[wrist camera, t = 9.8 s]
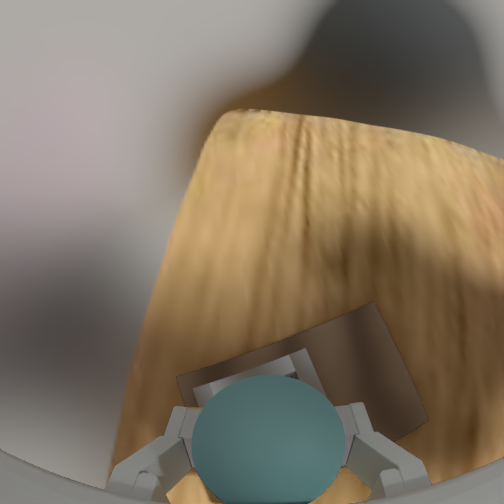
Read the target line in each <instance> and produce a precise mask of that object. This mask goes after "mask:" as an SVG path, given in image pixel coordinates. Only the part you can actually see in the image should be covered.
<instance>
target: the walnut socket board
mask: <svg viewBox="0 0 504 504" xmlns="http://www.w3.org/2000/svg"><path fill="white" fill-rule="evenodd" d="M259 375H281V376H286V377H291V378H294V379H297V380H300V381H302V382H304V383H307V384H309V385H310V386H312V387H314V388H315V389H317V390H318V391H319V392H321V393H322V394H323V395H324V396H325V397H326V398H327V399H328V400H329V401H330V402H331V404H332V405H341V404H350V403H357V402H363V403H364V406H365V408H366V411H367V414H368V417H369V420H370V422H371V425H372V428H373V431H374V432H379V433H381V434H382V435H383V436H385V437H386V438H388V439H389V440H391V441H392V442H394V441H396V440H398V439H399V438H401V437H403V436H404V435H406V434H408V433H409V432H411V431H413V430H414V429H416V428H417V427H419V426H421V425H422V424H424V423H425V422H427V421H428V420H429V419H428V417H427V414H426V412H425V410H424V407H423V405H422V402H421V400H420V398H419V395H418V393H417V391H416V388H415V386H414V384H413V381H412V379H411V377H410V375H409V373H408V370H407V368H406V366H405V364H404V362H403V359H402V357H401V355H400V353H399V351H398V349H397V347H396V344H395V342H394V340H393V338H392V336H391V334H390V332H389V330H388V328H387V326H386V324H385V322H384V320H383V318H382V316H381V314H380V312H379V310H378V308H377V306H376V304H375V302H374V301H373V302H371V303H368V304H366V305H364V306H362V307H360V308H358V309H355V310H353V311H351V312H349V313H346V314H344V315H342V316H340V317H337V318H335V319H333V320H330V321H328V322H326V323H323V324H321V325H319V326H316V327H314V328H311V329H309V330H306V331H304V332H302V333H299V334H297V335H294V336H292V337H289V338H286V339H284V340H281V341H279V342H276V343H274V344H271V345H268V346H266V347H263V348H260V349H258V350H255V351H252V352H249V353H247V354H244V355H241V356H238V357H235V358H232V359H230V360H227V361H224V362H221V363H218V364H215V365H212V366H209V367H206V368H203V369H200V370H196V371H193V372H190V373H187V374H184V375H180V376H177V377H176V379H177V383H178V386H179V389H180V392H181V395H182V398H183V401H184V404H185V407H197V408H203V407H204V406H205V405H206V404H207V403H208V401H209V400H210V399H211V398H212V397H213V396H214V395H215V394H217V393H218V392H219V391H221V390H222V389H223V388H225V387H227V386H228V385H230V384H232V383H234V382H237V381H239V380H241V379H245V378H249V377H253V376H259ZM343 467H346V465H341V468H343ZM341 468H340V469H341ZM222 503H223V504H226V503H225V502H223V501H222Z"/></svg>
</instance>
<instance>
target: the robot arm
mask: <svg viewBox="0 0 504 504" xmlns="http://www.w3.org/2000/svg"><path fill="white" fill-rule="evenodd" d="M333 406H334V408H335V409H336V411H337V413H338V415H339V417H340V419H341V422H342V424H343V428H344V433H345V455H344V458H343V462H342V465H346V466H347V467H348V468H349V469H350V470H351V471H352V472H353V473H354V474H355V475H356V476H357V477H358V478H359V479H360V480H361V481H362V482H363V483H364V484H366V485H367V486H368V487H369V488H370V489H371V490H372V492H371V494H370V496H369V498H368V500H367V501H363V502H357V503H351V504H504V457H502V458H500V459H498V460H495V461H493V462H491V463H489V464H487V465H484V466H482V467H480V468H477V469H475V470H472V471H470V472H467V473H465V474H462V475H459V476H457V477H454V478H451V479H448V480H445V481H442V482H439V483H436V484H433V485H432V484H431V481H430V479H429V476H428V474H427V471H426V469H425V466H424V464H423V462H422V460H420V459H419V458H417V457H415V456H414V455H412V454H411V453H409V452H408V451H406V450H405V449H403V448H402V447H400V446H398V445H397V444H395V443H394V442H392V441H391V440H389V439H388V438H386V437H385V436H383V435H382V434H381V433H379V432H374V431H373V428H372V425H371V422H370V420H369V417H368V414H367V411H366V408H365V406H364V403H363V402H357V403H350V404H341V405H333ZM202 409H203V408H197V407H183V406H175V407H174V408H173V410H172V413H171V416H170V419H169V422H168V425H167V428H166V431H165V433H164V436H159V437H157V438H156V439H154V440H153V441H152V442H150V443H149V444H147V445H146V446H144V447H143V448H141V449H140V450H138V451H137V452H135V453H134V454H132V455H131V456H129V457H128V458H126V459H125V460H123V461H122V462H120V463H119V464H117V465H116V466H115V467H114V470H113V472H112V474H111V477H110V479H109V481H108V483H107V486H106V488H105V490H103V489H100V488H96V487H93V486H90V485H86V484H83V483H80V482H77V481H74V480H71V479H68V478H65V477H63V476H60V475H57V474H54V473H52V472H49V471H47V470H44V469H42V468H39V467H37V466H35V465H32V464H30V463H28V462H26V461H23V460H21V459H19V458H17V457H15V456H13V455H11V454H8V453H6V452H4V451H2V450H1V449H0V504H170V502H169V500H168V498H167V496H166V493H167V492H168V491H170V490H171V489H172V488H173V487H174V486H175V485H176V484H177V483H178V482H179V481H180V480H181V479H182V478H183V477H184V476H185V475H186V474H187V473H188V472H189V471H190V470H191V469H192V468H195V465H194V462H193V458H192V452H191V440H192V433H193V429H194V425H195V423H196V420H197V418H198V416H199V414H200V412H201V411H202Z"/></svg>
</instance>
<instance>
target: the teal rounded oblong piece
mask: <svg viewBox="0 0 504 504" xmlns="http://www.w3.org/2000/svg"><path fill="white" fill-rule="evenodd" d="M191 452H192V458H193V462H194V465H195V468H196V471H197V473H198V475H199V477H200V478H201V480H202V481H203V483H204V484H205V486H206V487H207V488H208V489H209V490H210V491H211V492H212V493H213V494H214V495H215V496H216V497H217V498H219V499H220V500H222V501H223V502H225V503H226V504H308V503H310V502H312V501H313V500H315V499H316V498H317V497H319V496H320V495H321V494H322V493H323V492H324V491H325V490H326V489H327V488H328V487H329V486H330V485H331V483H332V482H333V481H334V479H335V478H336V476H337V474H338V472H339V470H340V468H341V465H342V462H343V458H344V455H345V433H344V428H343V424H342V422H341V419H340V417H339V415H338V413H337V411H336V409H335V408H334V406H333V405H332V404H331V402H330V401H329V400H328V399H327V398H326V397H325V396H324V395H323V394H322V393H321V392H319V391H318V390H317V389H315V388H314V387H312V386H310V385H309V384H307V383H304V382H302V381H300V380H297V379H294V378H291V377H286V376H281V375H259V376H253V377H249V378H245V379H241V380H239V381H237V382H234V383H232V384H230V385H228V386H227V387H225V388H223V389H222V390H221V391H219V392H218V393H217V394H215V395H214V396H213V397H212V398H211V399H210V400H209V401H208V403H207V404H206V405H205V406H204V407H203V409H202V411H201V412H200V414H199V416H198V418H197V420H196V423H195V425H194V429H193V433H192V440H191Z"/></svg>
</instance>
